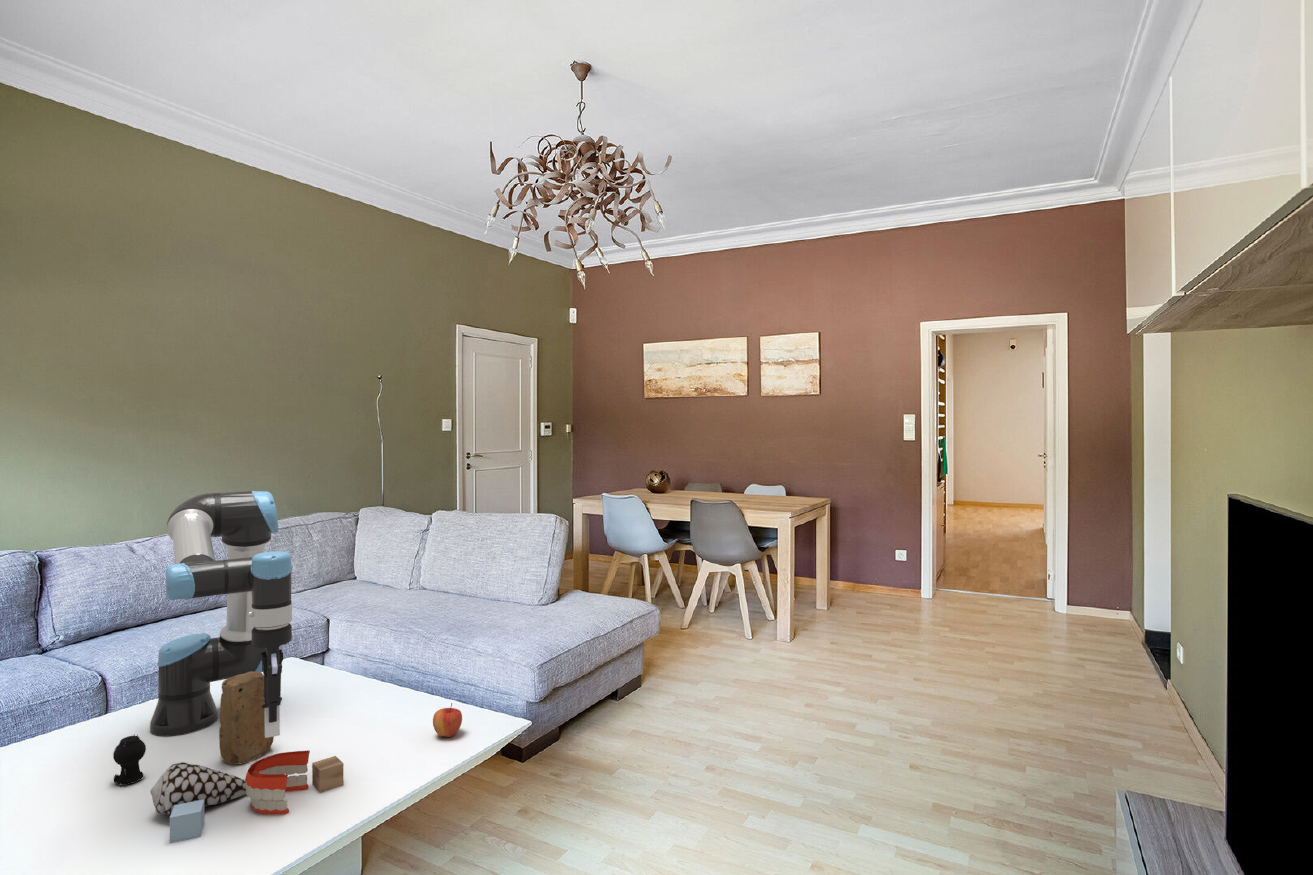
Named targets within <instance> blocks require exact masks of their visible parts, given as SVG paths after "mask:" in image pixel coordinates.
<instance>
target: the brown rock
mask: <svg viewBox="0 0 1313 875" xmlns="http://www.w3.org/2000/svg"><path fill="white" fill-rule="evenodd" d="M221 692H222V693H221V696H220V704H219V724H220V727H219V730H218V734H219V735H218V736H219V737H218V739H219V751H220V752H219V753H220V757H221V759H222V760H223V761H224V762H225V763H226V764H229V765H240V764H245V763H246V762H247V763H249V762H252V761H255V760H257V759H258V758H259V757H262V756H264V755H265V754H267V753H268V752H269V750H270V749H271V747H272V745H273V743H274V738H275V736H273V737H268V738H265V708H264V709H262V705H264V704H265V702H264V700H265V698H264V697H263V695H264V674H263V672H253V671H251V672H247V673H245V674H240V675H236V676H234V677H231V678H228V679H225V680H222V683H221ZM263 754H264V755H263ZM261 755H262V756H261ZM247 763H246V764H247Z"/></svg>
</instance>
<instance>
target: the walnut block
mask: <svg viewBox="0 0 1313 875" xmlns="http://www.w3.org/2000/svg"><path fill="white" fill-rule="evenodd" d="M311 767H312V768H311V769H312V772H311V774H312V775H311V776H312V777H311V780H312V781H311V784H312V786H313V787H314V788H315V790H316V791H317V792H318V793H319V794H321V793H324V792H327V791H330V790H332V789H335V788H338V787H342V786H344V762H343V761H342V760H341V759H340V758H339V757H338V756H336V755H333V756H330V757H327V758H325V759H319V760H317V761H314V762H312V763H311Z"/></svg>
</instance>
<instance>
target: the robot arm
mask: <svg viewBox="0 0 1313 875" xmlns="http://www.w3.org/2000/svg"><path fill="white" fill-rule="evenodd" d="M166 522H167V523H166V530H167V531H166V532H167V535H168V537H169V539H170V540H172V543H173V544H172V545H173V555H174V564H170V565H168V566H166V569H165V596H166V598H167V599H168V600H171V601H175V600H186V601H187V600H191V599H198V598H206V597H213V596H214V597H215V596H222V595H226V625H225V626H223V627H222V628H221V629H220V631H219V636H218V637H212V638H211V635H210V634H209V633H205V632H201V633H193V634H189V635H184V636H181V637H178V638H175V639H172V640H170V641H168V642H166V643H165V644H163V645H162V646H161V647H160V649H159V650H158V658H157V664H156V666H157V667H158V674H157V676H158V678H157V679H158V680H157V688H158V689H157V695H158V698H157V703H156V706H155V709H154V712H153V714H152V717H151V720H150V723H149V724H150V725H149V732H150V734H151V735H153V736H158V737H173V736H174V737H175V736H180V735H187V734H191V733H194V732H197V731H201V730H203V729H205V728H208V727H209V726H212V725H213V724H215V723H216V722H217V721H218V717H219V716H218V715H219V712H218V708H217V706H216V703H215V701H214V698H213V695H212V693H211V682H218V681H224V680H226V679H228V678H231V677H234V676H236V675H240V674H245V673H247V672H251V671H253V672H261V673H262V674H263V675H264V695H263V697H264V698H265V700H264V702H265V704H264V705H262V709H264V708H265V738H268V737H273V736H274V737H275V736H280V732H281V728H280V727H281V724H280V723H281V720H280V717H281V716H280V715H281V714H280V712H281V708H280V706H281V704H282V702H283V698H282V696H281V693H282V692H281V691H282V673H283V661H284V651H282V650H283V649H280V647H281V646H283V645H287V644H289V643H290V642H291V641H292V639H293V638H292V636H293V635H292V634H293V633H292V631H293V630H292V629H293V628H292V627H293V625H292V624H291V622H292V621H293V602H292V571H293V564H292V556H291V554H290V553H289V552H287V551H282V550H281V551H279V550H278V551H277V550H275V551H266V552H265V546H266V545H268V543H270V542H271V541H272V534H276V533H278V532H279V520H278V513H277V506H276V503H275V499H274V496H273V494H272V493H271V492H269V491H267V490H266V491H259V490H258V491H255V490H251V491H250V490H248V491H231V492H230V491H229V492H209V493H208V492H207V493H203V494H198V495H195V496H192V497H190V498H189V499H186V500H185V501H183V502H182V503H180V504H179V505H178V506H177V507H176V508H175V509H174V510H172V512H171V513H170V514H169V517H168V519H167V521H166ZM212 538H221V543H222V544H223V545H225V546H226V547H227V550H228V551H227V559H217V560H216V557H215V551H214V547H213V541H212Z"/></svg>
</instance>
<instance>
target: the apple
mask: <svg viewBox="0 0 1313 875" xmlns="http://www.w3.org/2000/svg"><path fill="white" fill-rule="evenodd" d="M452 706H453V703H452V702H451V705H450V707H444V708H443V707H442V708H440V709H438V710H436V711H435V712H434V714H433V717H432V726H433V730H434V731H435V733H436V734H437V735H438V737H440V736H443V737H447V738H452V737H454V736H455V735H456V734H457V733H458V731H459V730H460V728H461V725H462V722H463V714H462V711H461V710H460V709H458V708H456V707H452Z"/></svg>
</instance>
